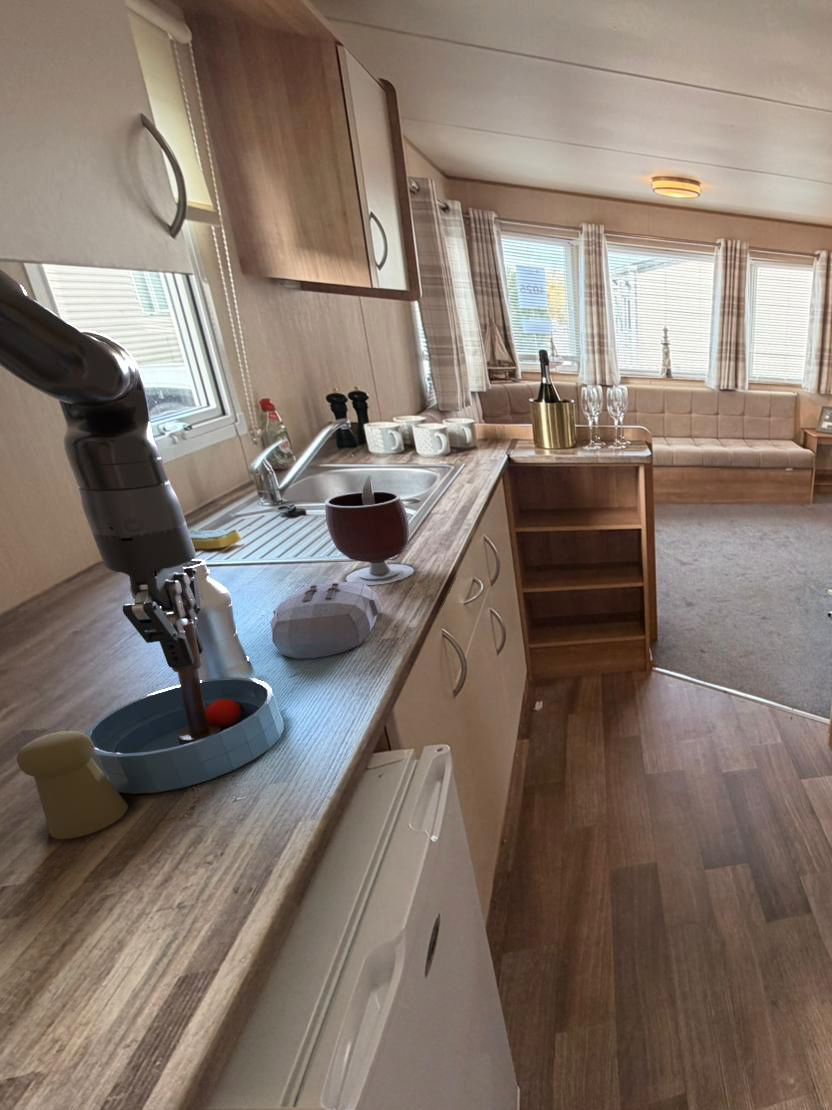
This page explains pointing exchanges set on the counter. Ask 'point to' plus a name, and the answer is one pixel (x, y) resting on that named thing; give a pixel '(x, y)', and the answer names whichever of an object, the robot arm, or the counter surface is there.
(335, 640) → the grey rounded bag
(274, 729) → the bowl
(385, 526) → the mate gourd
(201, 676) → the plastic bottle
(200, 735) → the wooden peg stand
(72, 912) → the counter surface
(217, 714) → the tomato
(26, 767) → the cork
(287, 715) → the counter surface
